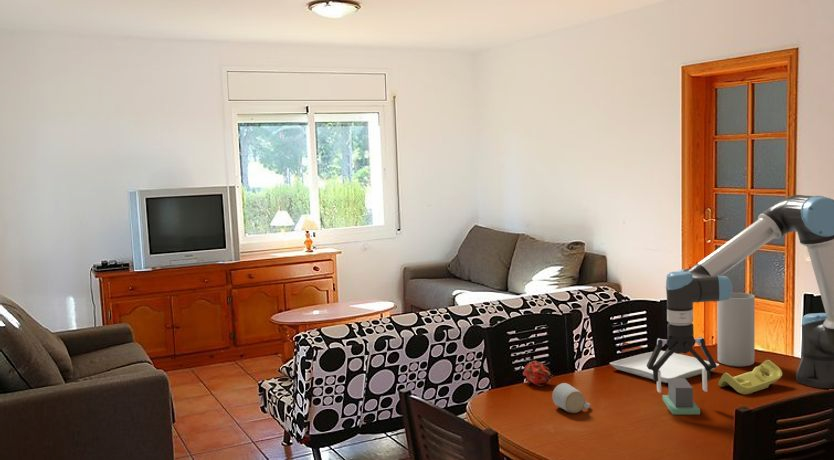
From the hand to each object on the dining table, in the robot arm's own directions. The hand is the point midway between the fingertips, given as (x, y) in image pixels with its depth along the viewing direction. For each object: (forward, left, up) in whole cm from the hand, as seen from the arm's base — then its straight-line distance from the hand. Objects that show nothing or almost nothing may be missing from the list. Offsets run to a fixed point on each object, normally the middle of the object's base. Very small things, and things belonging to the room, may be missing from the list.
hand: (681, 391), depth 234 cm
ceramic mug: (+33, +2, -5) cm, 34 cm away
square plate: (-3, -39, -6) cm, 39 cm away
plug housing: (0, -2, -3) cm, 4 cm away
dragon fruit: (+42, -25, -5) cm, 49 cm away
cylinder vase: (-31, -50, -5) cm, 59 cm away
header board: (0, 0, -5) cm, 5 cm away
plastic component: (-27, -20, -5) cm, 34 cm away
